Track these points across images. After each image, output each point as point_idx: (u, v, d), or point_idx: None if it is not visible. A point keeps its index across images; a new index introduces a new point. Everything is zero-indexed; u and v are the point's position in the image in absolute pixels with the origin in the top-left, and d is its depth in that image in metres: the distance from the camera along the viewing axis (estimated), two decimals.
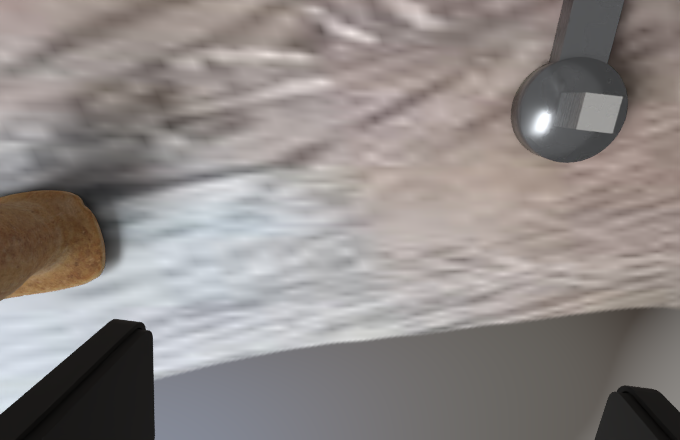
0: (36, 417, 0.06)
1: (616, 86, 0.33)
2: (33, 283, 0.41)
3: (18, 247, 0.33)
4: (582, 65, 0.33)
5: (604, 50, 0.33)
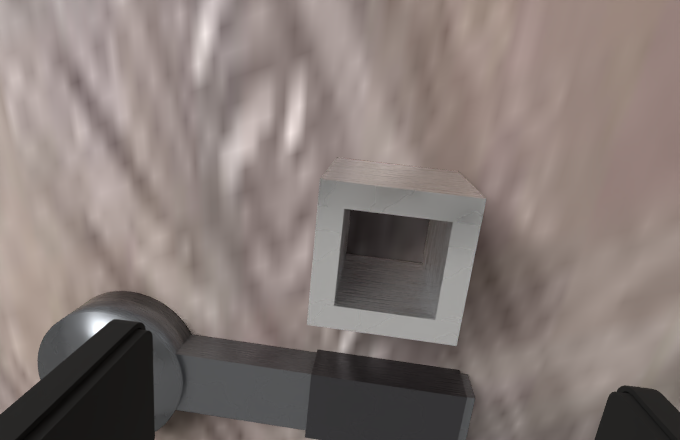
0: (36, 417, 0.06)
1: None
2: None
3: None
4: (167, 384, 0.23)
5: (194, 405, 0.24)
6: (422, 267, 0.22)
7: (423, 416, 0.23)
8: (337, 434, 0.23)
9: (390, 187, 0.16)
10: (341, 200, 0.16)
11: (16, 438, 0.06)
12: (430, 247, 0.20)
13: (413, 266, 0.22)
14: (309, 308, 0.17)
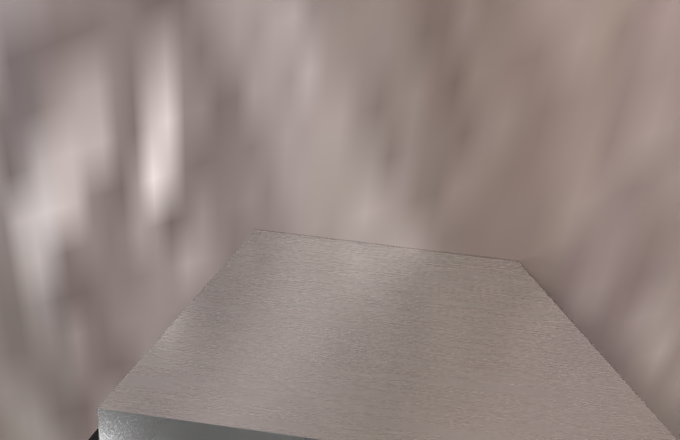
0: None
1: None
2: None
3: None
4: None
5: None
6: None
7: None
8: None
9: None
10: None
11: None
12: None
13: None
14: None
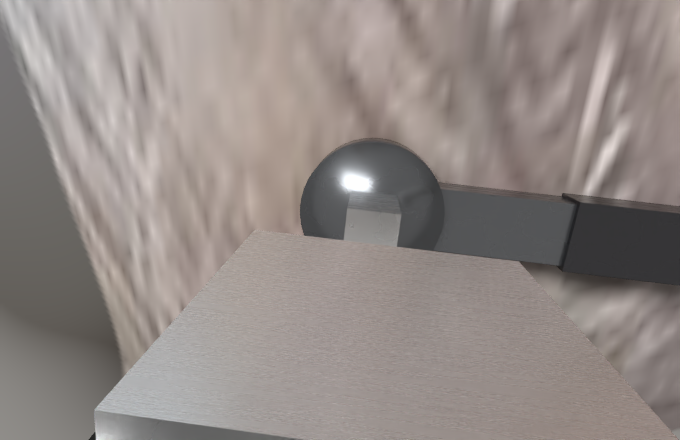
0: None
1: None
2: None
3: None
4: (433, 218, 0.24)
5: (450, 244, 0.25)
6: None
7: None
8: (596, 266, 0.24)
9: None
10: None
11: None
12: None
13: None
14: None
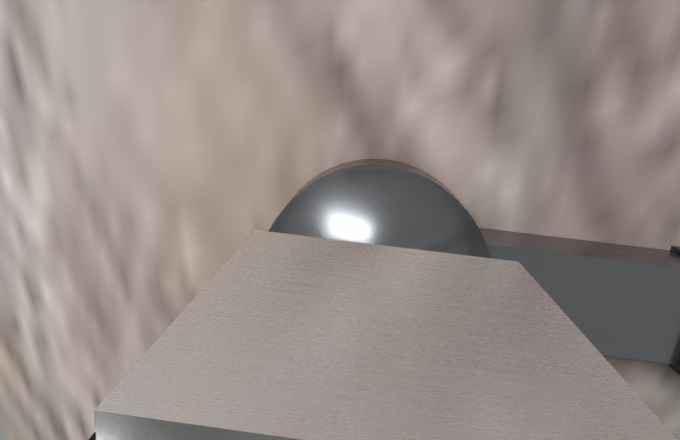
0: None
1: None
2: None
3: None
4: None
5: None
6: None
7: None
8: None
9: None
10: None
11: None
12: None
13: None
14: None
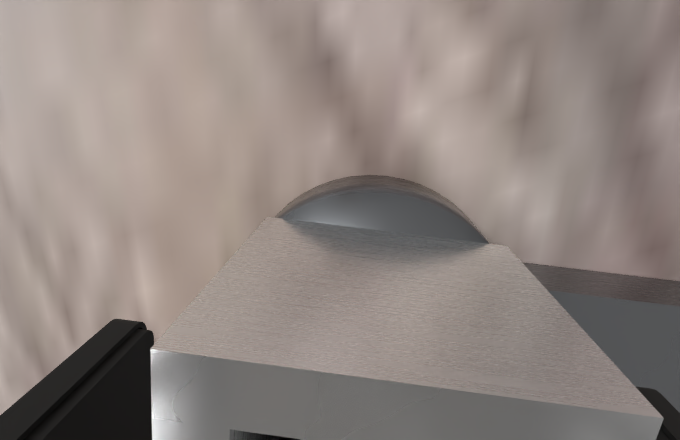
0: (38, 417, 0.06)
1: None
2: None
3: None
4: None
5: None
6: None
7: None
8: None
9: (365, 375, 0.05)
10: (219, 408, 0.05)
11: (18, 437, 0.06)
12: None
13: None
14: None
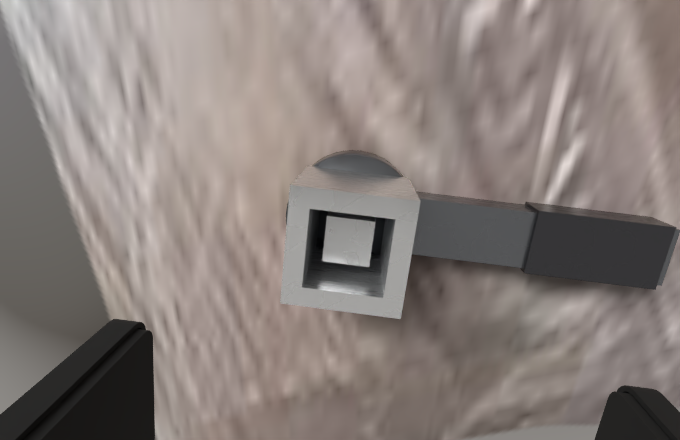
0: (36, 417, 0.06)
1: None
2: None
3: None
4: None
5: (423, 248, 0.27)
6: (379, 258, 0.26)
7: (634, 247, 0.26)
8: (554, 268, 0.27)
9: (346, 191, 0.20)
10: (307, 202, 0.20)
11: (16, 438, 0.06)
12: (384, 241, 0.25)
13: (372, 257, 0.26)
14: (282, 289, 0.21)
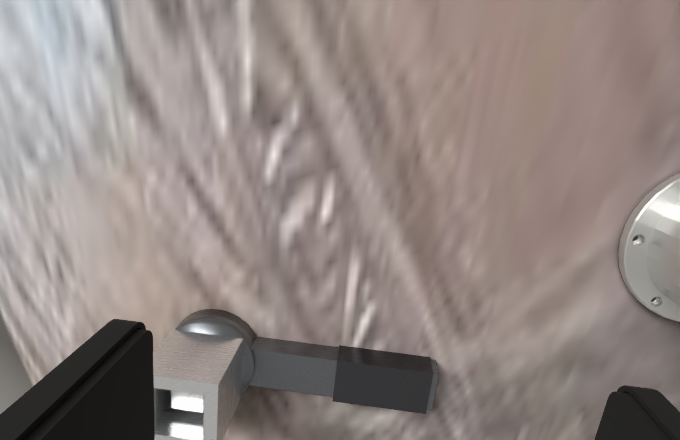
0: (36, 417, 0.06)
1: None
2: None
3: None
4: (245, 368, 0.37)
5: (261, 382, 0.38)
6: None
7: (406, 385, 0.36)
8: (353, 398, 0.37)
9: (170, 377, 0.30)
10: None
11: (16, 438, 0.06)
12: None
13: None
14: None
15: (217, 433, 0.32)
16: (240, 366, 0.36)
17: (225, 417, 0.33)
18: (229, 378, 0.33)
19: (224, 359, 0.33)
